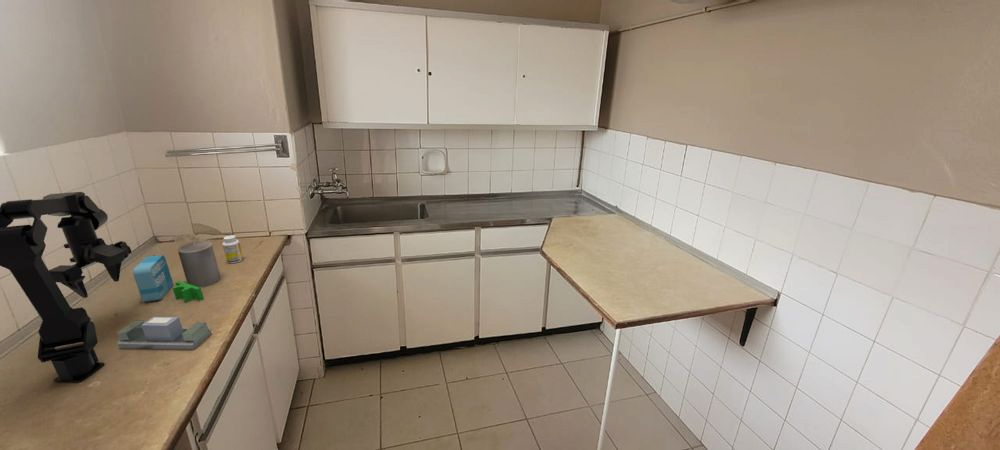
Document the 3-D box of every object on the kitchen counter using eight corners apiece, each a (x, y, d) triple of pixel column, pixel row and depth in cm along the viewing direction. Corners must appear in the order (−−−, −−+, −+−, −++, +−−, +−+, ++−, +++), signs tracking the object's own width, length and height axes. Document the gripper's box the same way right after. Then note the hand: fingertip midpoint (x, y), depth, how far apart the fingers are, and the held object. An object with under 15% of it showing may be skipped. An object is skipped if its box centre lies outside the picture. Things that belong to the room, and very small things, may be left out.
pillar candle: (187, 279, 142) (175, 241, 137) (220, 272, 148) (210, 235, 143) (188, 291, 135) (176, 251, 130) (222, 282, 141) (211, 244, 135)
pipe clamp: (170, 298, 131) (166, 285, 130) (182, 293, 134) (179, 280, 133) (191, 305, 127) (188, 292, 125) (204, 299, 130) (200, 287, 129)
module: (172, 341, 107) (166, 324, 105) (146, 340, 107) (140, 324, 105) (183, 332, 111) (178, 316, 109) (158, 332, 111) (153, 315, 109)
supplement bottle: (236, 256, 161) (231, 233, 157) (246, 259, 159) (241, 235, 155) (223, 262, 156) (217, 238, 152) (233, 264, 154) (227, 240, 151)
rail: (193, 349, 106) (189, 335, 105) (119, 348, 106) (114, 334, 105) (211, 334, 113) (207, 320, 111) (142, 332, 113) (137, 319, 111)
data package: (160, 301, 129) (149, 268, 125) (143, 304, 127) (131, 270, 123) (173, 284, 139) (164, 253, 135) (158, 286, 138) (147, 255, 134)
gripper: (76, 252, 98) (97, 307, 103) (141, 226, 115) (157, 274, 121) (31, 252, 98) (55, 306, 103) (103, 225, 115) (120, 273, 121)
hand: (101, 289), depth 112 cm, fingers open, 9 cm apart
